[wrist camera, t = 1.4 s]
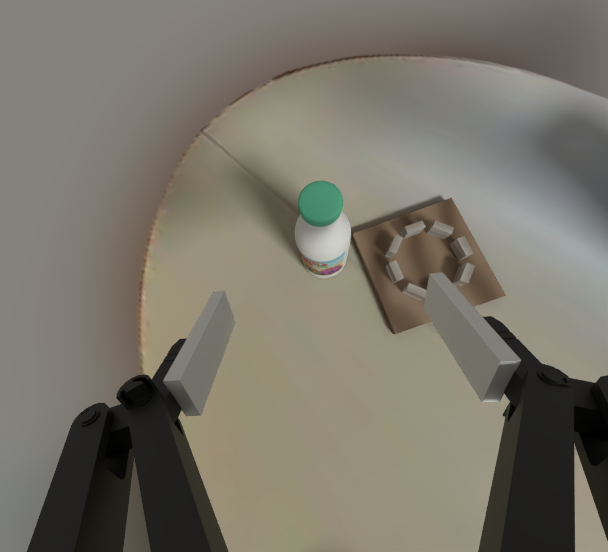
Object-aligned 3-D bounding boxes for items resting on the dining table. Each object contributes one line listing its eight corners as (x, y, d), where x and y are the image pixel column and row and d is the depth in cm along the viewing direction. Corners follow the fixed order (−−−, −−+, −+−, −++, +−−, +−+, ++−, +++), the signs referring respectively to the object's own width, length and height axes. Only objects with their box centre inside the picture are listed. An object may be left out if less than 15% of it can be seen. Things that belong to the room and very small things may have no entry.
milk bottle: (312, 232, 45) (299, 157, 26) (352, 246, 44) (370, 178, 24) (296, 269, 44) (269, 220, 25) (336, 285, 43) (342, 246, 23)
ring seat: (447, 202, 44) (458, 189, 40) (499, 296, 39) (517, 292, 36) (352, 236, 44) (354, 227, 40) (392, 333, 40) (399, 334, 36)
